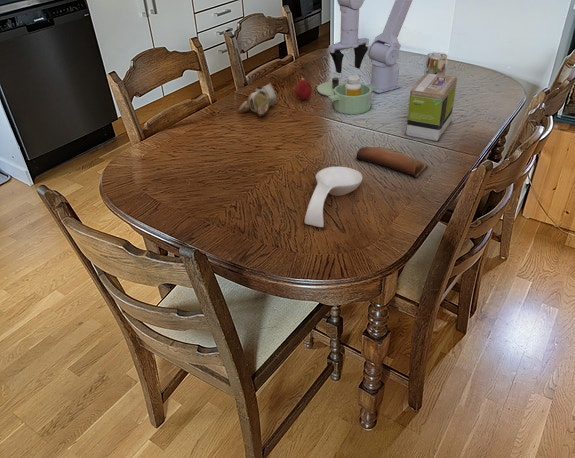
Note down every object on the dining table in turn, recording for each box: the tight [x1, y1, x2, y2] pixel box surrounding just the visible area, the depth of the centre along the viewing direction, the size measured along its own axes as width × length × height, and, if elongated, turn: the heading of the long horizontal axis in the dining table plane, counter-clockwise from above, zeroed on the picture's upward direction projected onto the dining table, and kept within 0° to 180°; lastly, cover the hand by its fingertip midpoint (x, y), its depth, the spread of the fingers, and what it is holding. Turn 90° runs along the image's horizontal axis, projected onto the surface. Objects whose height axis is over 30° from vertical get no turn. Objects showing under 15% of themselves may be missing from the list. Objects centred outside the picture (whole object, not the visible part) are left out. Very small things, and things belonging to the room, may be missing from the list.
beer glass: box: [423, 52, 448, 76], centre depth 167 cm, size 7×7×15 cm
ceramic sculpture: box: [235, 82, 277, 117], centre depth 167 cm, size 11×9×15 cm
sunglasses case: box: [355, 146, 427, 178], centre depth 137 cm, size 18×7×7 cm
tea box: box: [405, 73, 458, 142], centre depth 150 cm, size 15×10×15 cm
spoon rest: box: [304, 166, 364, 228], centre depth 122 cm, size 24×12×7 cm, turn 157°
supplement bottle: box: [345, 75, 362, 96], centre depth 166 cm, size 5×5×10 cm
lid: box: [316, 76, 347, 97], centre depth 180 cm, size 13×13×5 cm
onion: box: [294, 77, 313, 101], centre depth 173 cm, size 6×6×8 cm
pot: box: [327, 82, 376, 115], centre depth 168 cm, size 12×18×6 cm
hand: (348, 70), depth 168 cm, fingers open, 7 cm apart
